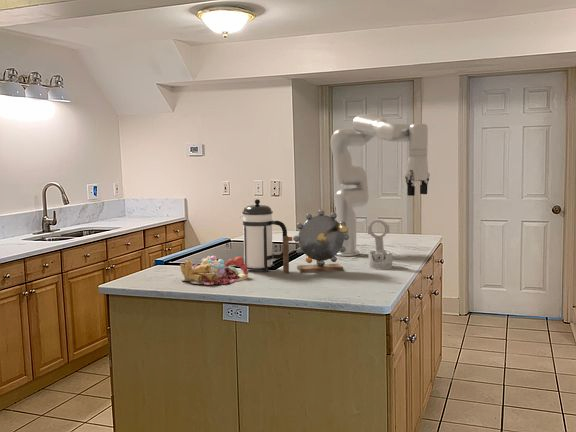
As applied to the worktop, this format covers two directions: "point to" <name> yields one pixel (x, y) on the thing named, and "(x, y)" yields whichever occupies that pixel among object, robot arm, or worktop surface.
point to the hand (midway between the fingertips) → (417, 194)
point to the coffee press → (259, 236)
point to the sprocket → (321, 237)
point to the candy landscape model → (214, 271)
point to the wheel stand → (305, 267)
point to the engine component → (379, 249)
